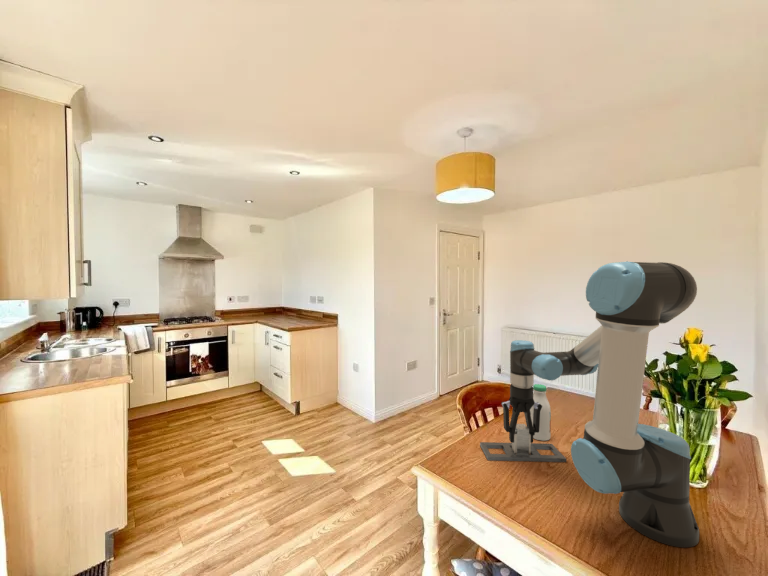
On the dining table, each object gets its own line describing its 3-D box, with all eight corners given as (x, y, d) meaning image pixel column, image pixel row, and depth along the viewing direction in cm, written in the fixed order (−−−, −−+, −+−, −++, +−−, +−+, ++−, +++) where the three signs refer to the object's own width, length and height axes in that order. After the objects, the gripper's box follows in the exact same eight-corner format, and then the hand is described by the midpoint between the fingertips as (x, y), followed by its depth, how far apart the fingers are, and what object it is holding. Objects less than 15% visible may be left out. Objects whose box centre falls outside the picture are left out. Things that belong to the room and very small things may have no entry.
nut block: (528, 454, 111) (529, 429, 111) (517, 454, 111) (517, 428, 111) (524, 448, 115) (524, 423, 115) (512, 448, 115) (513, 423, 115)
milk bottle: (548, 443, 120) (548, 390, 119) (526, 437, 124) (526, 386, 124) (552, 435, 126) (552, 385, 126) (531, 430, 130) (531, 381, 130)
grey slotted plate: (566, 462, 107) (566, 458, 107) (487, 460, 108) (487, 456, 108) (551, 446, 117) (551, 443, 117) (480, 445, 118) (480, 442, 118)
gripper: (541, 382, 116) (540, 446, 116) (493, 381, 116) (493, 445, 117) (551, 388, 108) (550, 457, 108) (500, 388, 109) (499, 456, 109)
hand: (521, 451), depth 113 cm, fingers closed on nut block, 4 cm apart
